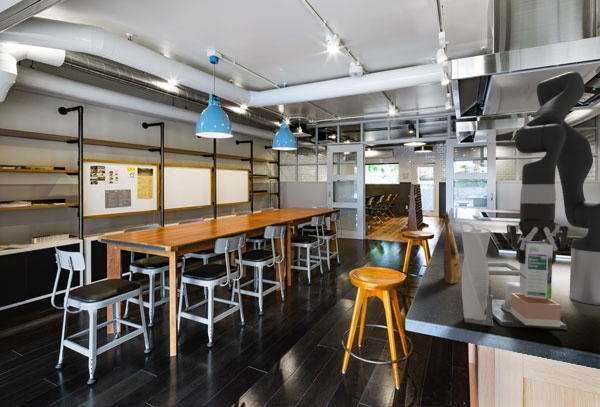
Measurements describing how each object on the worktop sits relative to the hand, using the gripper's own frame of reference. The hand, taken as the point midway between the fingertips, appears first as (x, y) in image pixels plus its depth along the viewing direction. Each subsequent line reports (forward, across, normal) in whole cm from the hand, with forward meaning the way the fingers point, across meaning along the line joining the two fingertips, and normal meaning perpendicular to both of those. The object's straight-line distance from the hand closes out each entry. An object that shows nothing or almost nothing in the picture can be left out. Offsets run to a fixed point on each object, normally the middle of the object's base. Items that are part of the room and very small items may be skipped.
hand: (535, 263), depth 85 cm
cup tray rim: (+18, -17, -63) cm, 67 cm away
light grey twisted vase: (+18, +13, -4) cm, 23 cm away
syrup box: (+9, 0, 0) cm, 9 cm away
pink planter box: (+15, 0, -4) cm, 16 cm away
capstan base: (+18, 0, -9) cm, 20 cm away
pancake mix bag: (+18, +8, -45) cm, 49 cm away
